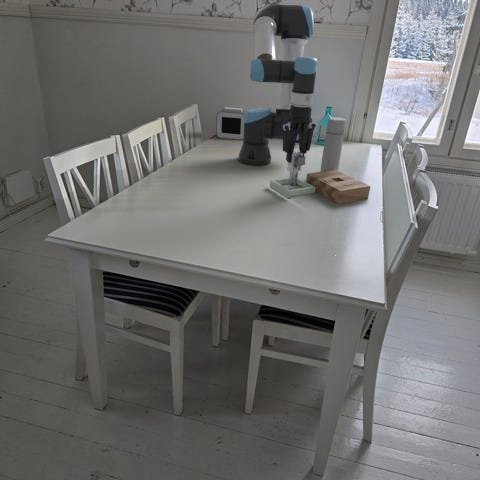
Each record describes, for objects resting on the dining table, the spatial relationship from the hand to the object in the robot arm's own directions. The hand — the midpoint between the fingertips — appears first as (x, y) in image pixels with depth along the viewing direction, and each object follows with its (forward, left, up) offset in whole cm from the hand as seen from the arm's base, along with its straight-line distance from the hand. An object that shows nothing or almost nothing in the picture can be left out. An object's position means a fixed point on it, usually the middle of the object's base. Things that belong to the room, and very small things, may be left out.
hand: (294, 170), depth 157 cm
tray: (0, 0, -8) cm, 8 cm away
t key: (0, 0, -6) cm, 6 cm away
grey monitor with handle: (-85, +17, -9) cm, 87 cm away
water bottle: (-7, +23, -9) cm, 26 cm away
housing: (+9, +14, -8) cm, 19 cm away
